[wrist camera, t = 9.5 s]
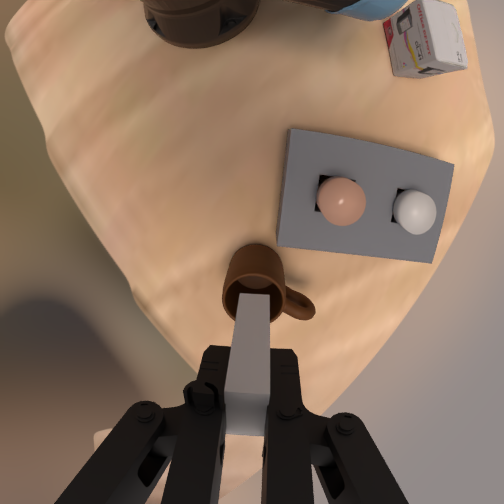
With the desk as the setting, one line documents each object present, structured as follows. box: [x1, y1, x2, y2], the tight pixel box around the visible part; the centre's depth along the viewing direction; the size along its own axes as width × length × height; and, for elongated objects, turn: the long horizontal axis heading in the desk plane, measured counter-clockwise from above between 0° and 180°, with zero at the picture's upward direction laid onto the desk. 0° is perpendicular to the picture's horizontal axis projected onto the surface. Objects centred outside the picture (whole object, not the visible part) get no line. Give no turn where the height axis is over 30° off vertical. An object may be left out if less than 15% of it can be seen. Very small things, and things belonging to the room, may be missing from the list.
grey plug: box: [393, 189, 436, 235], centre depth 34 cm, size 5×5×8 cm
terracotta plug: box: [316, 176, 366, 226], centre depth 33 cm, size 5×5×8 cm
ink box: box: [383, 0, 468, 79], centre depth 24 cm, size 9×5×12 cm, turn 7°
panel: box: [276, 128, 454, 264], centre depth 36 cm, size 14×22×5 cm, turn 84°
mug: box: [222, 244, 315, 323], centre depth 39 cm, size 12×8×9 cm, turn 69°
